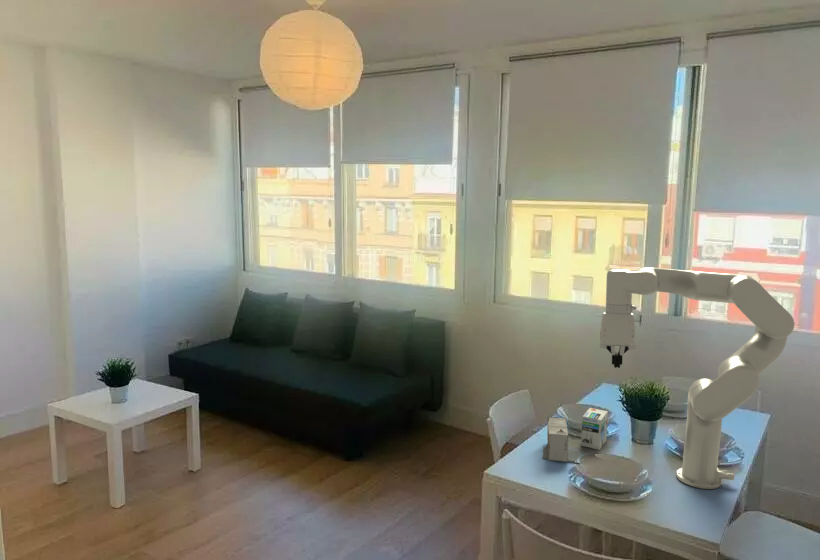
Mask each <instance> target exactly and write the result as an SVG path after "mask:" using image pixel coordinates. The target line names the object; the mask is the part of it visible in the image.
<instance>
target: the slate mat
mask: <svg viewBox="0 0 820 560" xmlns="http://www.w3.org/2000/svg"><path fill="white" fill-rule="evenodd" d="M580 453H581V451H580V450H576V449H575V450H574V449H569V448H568V461H561V462H564V463H570V462H571V463H573V464H575V463H574V462H575V461H576V460H577V459H578V458H579V457H580V458H581V454H580ZM541 457H542V460H547V461H550V460H549V458H548V446H543V447H542V456H541Z"/></svg>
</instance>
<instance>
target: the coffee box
mask: <svg viewBox="0 0 820 560" xmlns="http://www.w3.org/2000/svg"><path fill="white" fill-rule="evenodd" d="M546 434H547V447H548V458H549V460H548V461H556V462H562V461H568V449H569V432H568V424H567V419H566V418H564V417H557V416H556V417H555V416H554V417H553V416H551V417H550V416H548V417H547V433H546Z"/></svg>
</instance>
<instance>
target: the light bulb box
mask: <svg viewBox="0 0 820 560" xmlns="http://www.w3.org/2000/svg"><path fill="white" fill-rule="evenodd" d="M608 419H609V411H607V410H602V409H597V408H592V407H589V408H588V409H587V410H586V412H584V415H582V421H581V422H582V423H581V440H580V446H581V447H585V448H589V449H594V450H598V451H600V450H601V448H602V447H603V445H605V443H606V441H607V434H608V433H607V432H608V423H609V422H608Z"/></svg>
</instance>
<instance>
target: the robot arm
mask: <svg viewBox="0 0 820 560" xmlns="http://www.w3.org/2000/svg"><path fill="white" fill-rule="evenodd" d="M605 288H606V290H605V293H606V295H605V311H604V312H603V313H602V316H601V321H600V336H599V339H600V341H599V345H598V346H599V348H601V349H604V350H607V351H608V352H609V353H611V365H613V367H614V369H615V368H618V369H620V368H621V366H622V365H623V356H624V354H625V353H627V352H628V351H631V350H635V349H636V348H637V347H636V323H635V315H634V313H633V311H637V305H633V304H632V302H633V301H632V300H633V294H634V295H638V296H639V295H640V296H651V295H653V294H655V293H657V292H658V293H659V292H660V293H669V294H673V295H674V294H675V295H679V296H682V297H684V298H687V299H690V300H694V301H700V302H701V301H704V302H705V301H706V302H715V303H727V304H734V305H735V307H736V308H737V309H738V310H739V311H740V312H741V313H742V314H743V315H744V316H745V317H746V318H747V319H748V320H750V322H752V324H753V325H754V326H755V329H754V333H753V334H752V336H750V339H748V341H746V342H745V343H744V344H743V345H742V346H741V347H740V348H738V349H737V350H736V351H735V352H734V353H732V354H731V355H730V356H729V357H727V358H726V359H724V360H723V361H721V363H720V364H719V366H718V368H717V374H718V377H716V378H715V379H710V378H707V377H706V378H704V377H703V378H700V379H697V380H695V381H693V383H692V384H691V385H690V387H689V389H688V392H687V393H688V394H687V414H686V425H685V434H684V435H685V436H684V446H683V455H682V456H683V457H682V467H680V468H678V469H677V470H676V473H675V474H676V475H675V476H676V478H677V479H678V481H681V482H682V483H684V484H685V485H688V486H689V487H692V488H697V489H702V490H714V489H715V490H716V489H718V488H720V487H721V486H722V482H723V481H722V480H723V479H724V480H727V481H728V480H729V481H734V480H735V474H734V473H732V472H731V473H730V472H728V470H726V469H719V467H718V463H719V453H720V444H721V443H720V441H721V435H722V427H723V426H722V424H723V423H722V422H723V419H724V418H725V417H726V416H729V415H730V414H731V413H733V411H735V410H736V409H738V408H739V407H740V406H741V405H743V404H744V403H745V402H746V401H748V400H749V399H750V398H751V397H752V396H753V395H754V394H755V393H756V392H757V390H758V388H759V386H760V382H761V381H760V374H761V373H762V372H763V371H765V370H766V369H767V368H768V367H769V366H770V365H772V364H773V363H774V362H775V361H776V360H777V359H778V358H779V357H780V356H781V354H782V352H783V351H784V349H785V347H786V344H787V341H788V336H790V335H791V334H792V333H793V332H794V329H795V319H794V317H793V315H792V314H791V313H790V312H789V311H788V310H787V309H786V308H785V307H783V305H782V304H780V303H779V302H778V300H776V299H775V298H774V297H773V296H772V295H771V294H770V293H769V292H768V290H766V289H765V288H764V286H762V284H760V282H758V281H757V280H756V279H754V278H753V277H751V276H749V275H745V274H737V273H736V274H735V273H724V272H723V273H719V272H710V271H709V272H708V271H695V270H684V269H683V270H682V269H675V268H674V269H672V268H662V267H661V268H659V267H649V266H648V267H641V268H638V269H637V270H636V271H631V270H630V269H625V268H624V269H622V268H613V269H609V270H608V271H607V273H606V287H605ZM616 346H618V347H619V348H618V352H617V351H616Z"/></svg>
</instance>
